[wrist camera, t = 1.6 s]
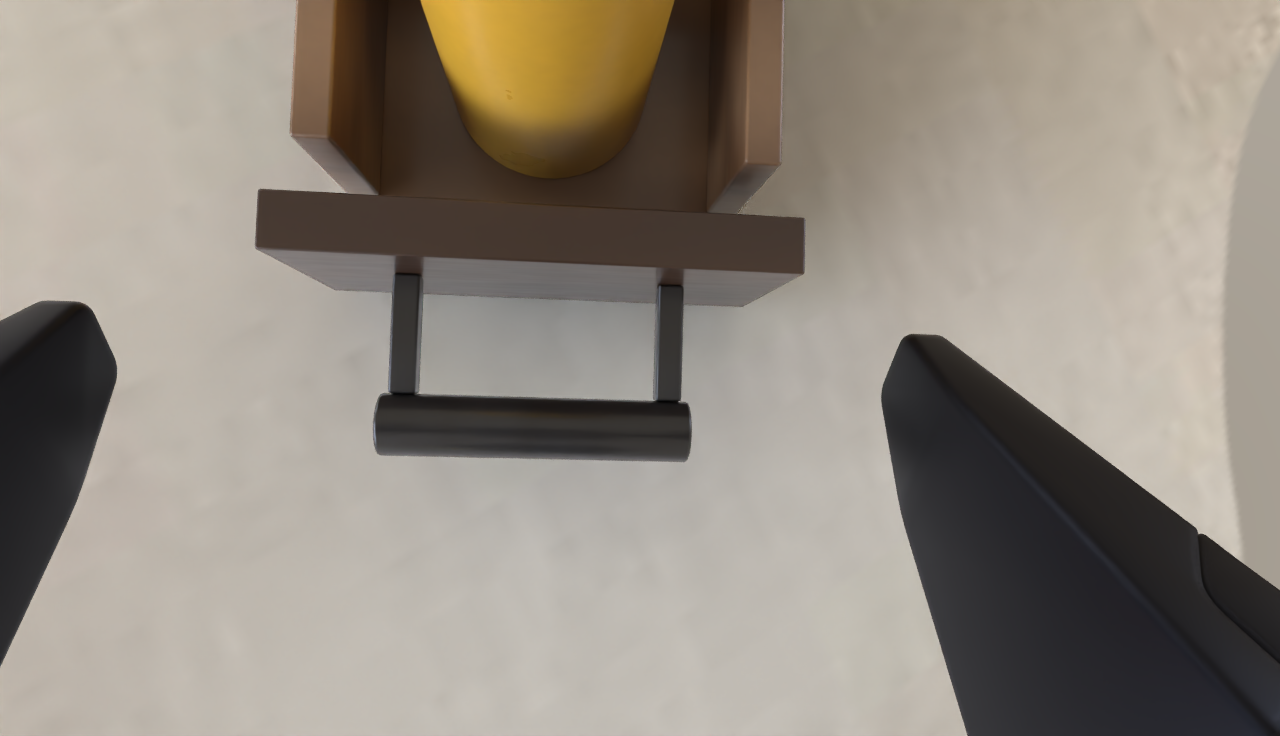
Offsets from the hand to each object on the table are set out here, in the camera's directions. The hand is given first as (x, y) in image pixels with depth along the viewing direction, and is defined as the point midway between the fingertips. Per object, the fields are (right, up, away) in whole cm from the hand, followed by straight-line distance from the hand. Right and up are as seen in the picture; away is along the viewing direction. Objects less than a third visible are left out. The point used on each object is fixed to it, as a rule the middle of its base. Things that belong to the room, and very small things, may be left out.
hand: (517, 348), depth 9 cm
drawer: (-1, +6, +13) cm, 14 cm away
